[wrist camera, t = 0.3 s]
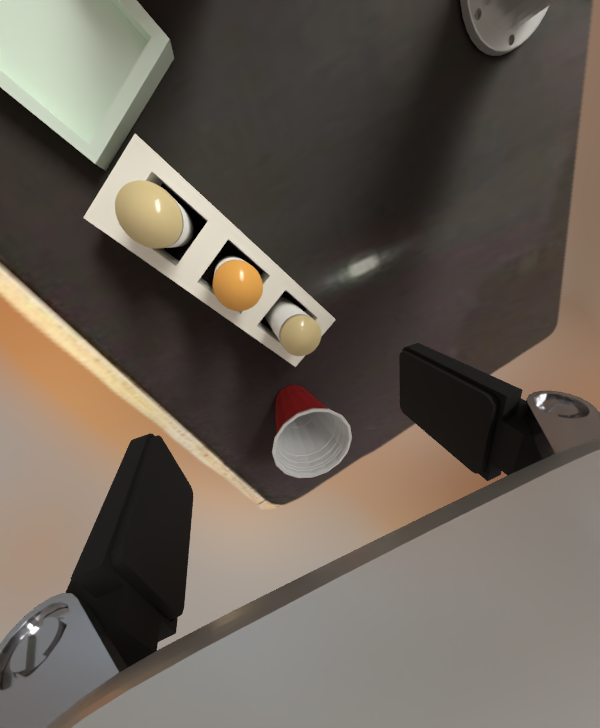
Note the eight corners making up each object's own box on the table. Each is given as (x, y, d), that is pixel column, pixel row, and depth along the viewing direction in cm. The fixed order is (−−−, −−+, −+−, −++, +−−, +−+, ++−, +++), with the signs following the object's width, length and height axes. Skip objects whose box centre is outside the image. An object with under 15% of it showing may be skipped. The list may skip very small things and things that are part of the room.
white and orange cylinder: (228, 247, 31) (232, 248, 21) (256, 272, 33) (272, 283, 23) (207, 276, 31) (202, 290, 22) (236, 298, 34) (243, 320, 24)
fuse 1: (165, 192, 27) (135, 164, 17) (201, 224, 29) (193, 214, 20) (142, 226, 28) (102, 217, 18) (180, 255, 30) (161, 260, 20)
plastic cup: (308, 358, 40) (339, 397, 30) (329, 405, 46) (361, 453, 35) (247, 389, 40) (257, 440, 29) (275, 433, 45) (292, 490, 35)
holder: (149, 152, 25) (134, 133, 21) (322, 310, 38) (335, 319, 33) (105, 222, 27) (83, 217, 22) (286, 353, 39) (295, 367, 35)
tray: (10, -131, 17) (-20, -184, 15) (174, 58, 23) (169, 39, 21) (-63, 33, 19) (-99, 6, 17) (105, 171, 25) (95, 164, 23)
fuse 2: (277, 290, 35) (300, 307, 25) (300, 309, 37) (329, 332, 27) (258, 315, 35) (272, 341, 26) (281, 333, 37) (302, 363, 28)
